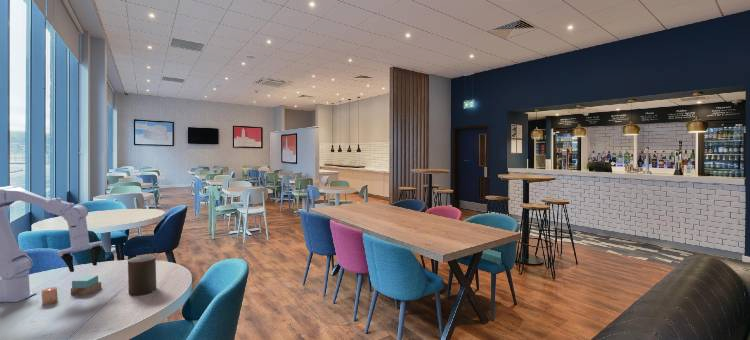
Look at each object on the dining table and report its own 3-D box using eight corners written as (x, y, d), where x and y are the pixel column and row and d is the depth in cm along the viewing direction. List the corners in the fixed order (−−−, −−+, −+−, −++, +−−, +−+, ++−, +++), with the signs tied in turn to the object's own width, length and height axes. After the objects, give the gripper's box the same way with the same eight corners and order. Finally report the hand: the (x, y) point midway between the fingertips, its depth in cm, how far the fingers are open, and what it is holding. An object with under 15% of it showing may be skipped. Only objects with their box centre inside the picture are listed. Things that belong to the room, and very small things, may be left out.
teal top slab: (72, 288, 144) (71, 281, 144) (83, 282, 150) (83, 275, 150) (87, 288, 144) (87, 280, 144) (98, 282, 150) (98, 275, 150)
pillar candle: (143, 296, 142) (142, 259, 141) (122, 294, 144) (121, 258, 143) (162, 287, 152) (161, 252, 151) (142, 285, 153) (141, 251, 153)
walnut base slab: (70, 295, 144) (70, 288, 144) (84, 288, 151) (84, 281, 150) (88, 295, 144) (88, 288, 144) (101, 288, 151) (101, 281, 151)
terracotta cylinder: (39, 304, 135) (38, 291, 135) (49, 299, 139) (48, 287, 139) (50, 304, 135) (50, 291, 135) (60, 299, 139) (60, 287, 139)
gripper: (60, 241, 135) (65, 276, 137) (104, 231, 148) (108, 263, 149) (53, 239, 139) (57, 273, 140) (96, 230, 151) (100, 261, 153)
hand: (83, 268), depth 145 cm, fingers open, 7 cm apart
